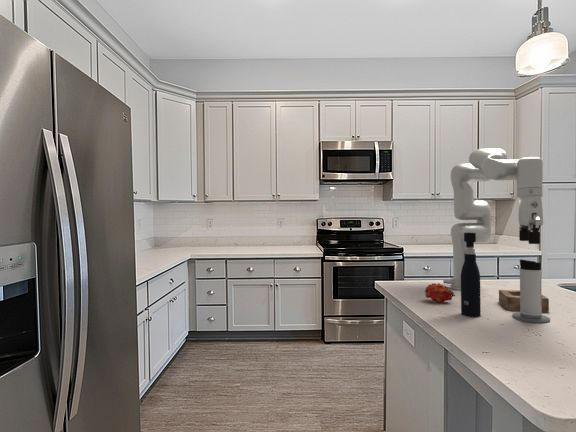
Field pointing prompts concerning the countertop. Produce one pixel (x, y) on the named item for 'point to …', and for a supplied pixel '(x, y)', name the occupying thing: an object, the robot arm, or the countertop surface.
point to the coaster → (542, 320)
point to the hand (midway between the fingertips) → (529, 242)
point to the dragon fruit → (438, 293)
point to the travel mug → (530, 289)
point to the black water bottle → (470, 280)
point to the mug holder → (518, 300)
